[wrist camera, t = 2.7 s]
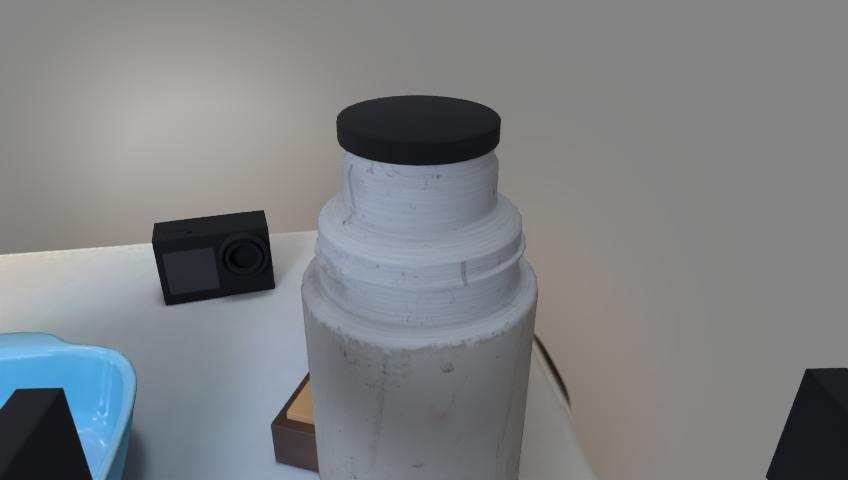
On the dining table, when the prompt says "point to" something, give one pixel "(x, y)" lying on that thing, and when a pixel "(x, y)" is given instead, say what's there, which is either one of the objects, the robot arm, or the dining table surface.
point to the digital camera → (213, 256)
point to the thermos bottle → (419, 299)
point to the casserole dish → (77, 391)
